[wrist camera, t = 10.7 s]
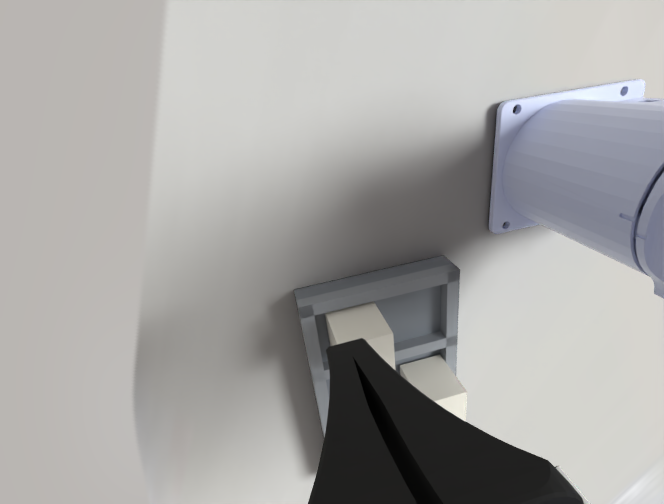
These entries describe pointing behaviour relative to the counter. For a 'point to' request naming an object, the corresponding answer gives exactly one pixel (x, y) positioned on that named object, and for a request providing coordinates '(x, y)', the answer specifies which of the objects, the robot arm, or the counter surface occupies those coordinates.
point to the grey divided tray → (386, 315)
